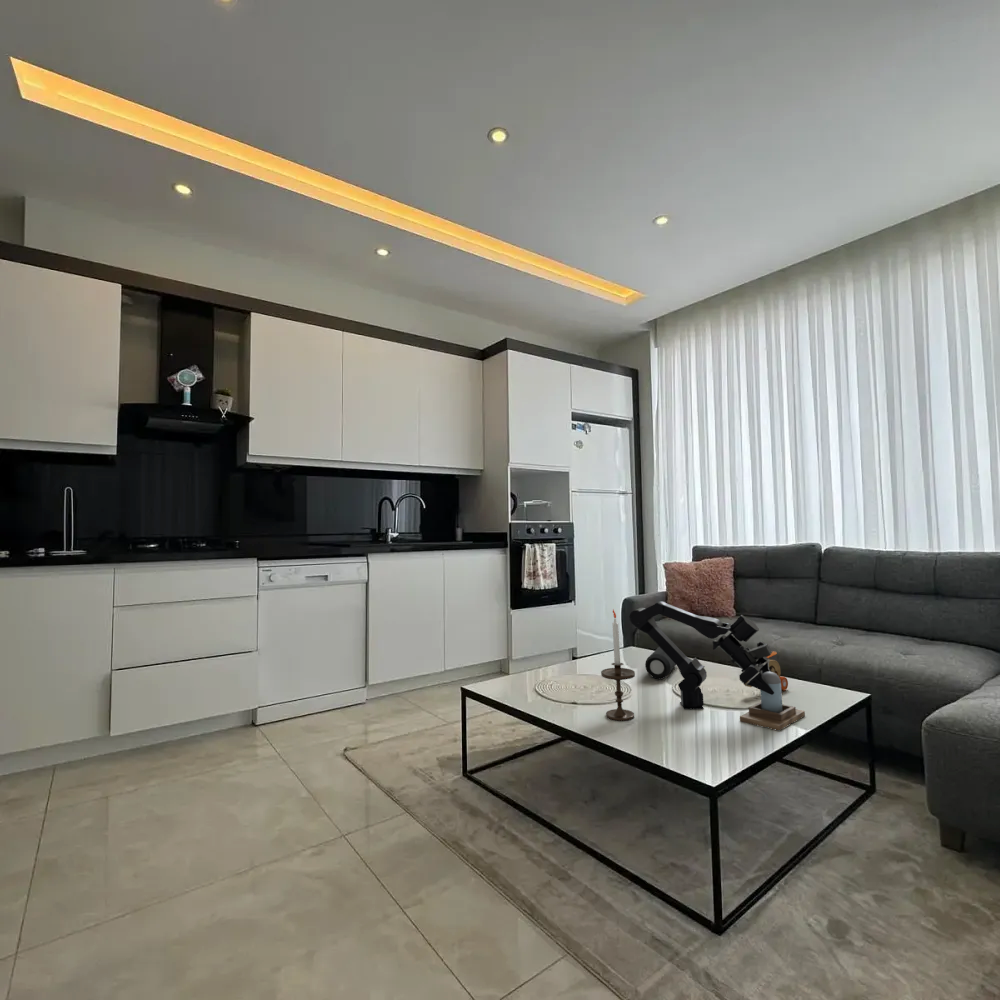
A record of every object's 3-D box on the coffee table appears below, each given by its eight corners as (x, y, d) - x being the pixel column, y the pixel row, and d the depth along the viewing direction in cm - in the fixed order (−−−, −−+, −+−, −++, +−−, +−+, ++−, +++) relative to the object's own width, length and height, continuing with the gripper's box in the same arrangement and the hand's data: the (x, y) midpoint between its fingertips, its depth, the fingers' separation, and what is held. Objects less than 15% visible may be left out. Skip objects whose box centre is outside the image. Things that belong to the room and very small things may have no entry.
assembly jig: (779, 731, 164) (778, 719, 164) (740, 721, 173) (739, 709, 174) (805, 715, 176) (804, 704, 176) (766, 707, 185) (766, 696, 185)
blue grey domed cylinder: (760, 715, 174) (758, 673, 174) (762, 709, 179) (760, 668, 179) (782, 717, 170) (779, 675, 171) (783, 711, 176) (781, 670, 176)
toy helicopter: (790, 689, 203) (788, 651, 204) (756, 700, 192) (754, 660, 193) (769, 684, 210) (767, 647, 211) (735, 695, 199) (733, 656, 200)
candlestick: (597, 714, 185) (591, 608, 187) (624, 709, 189) (619, 605, 191) (614, 724, 175) (609, 612, 177) (643, 718, 179) (638, 609, 180)
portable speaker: (658, 664, 246) (657, 641, 246) (681, 666, 241) (680, 642, 242) (644, 679, 223) (643, 654, 224) (669, 681, 219) (668, 656, 219)
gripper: (748, 640, 170) (790, 681, 163) (759, 629, 186) (798, 666, 179) (722, 663, 174) (763, 704, 168) (735, 651, 190) (773, 688, 183)
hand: (775, 689), depth 174 cm, fingers open, 9 cm apart
